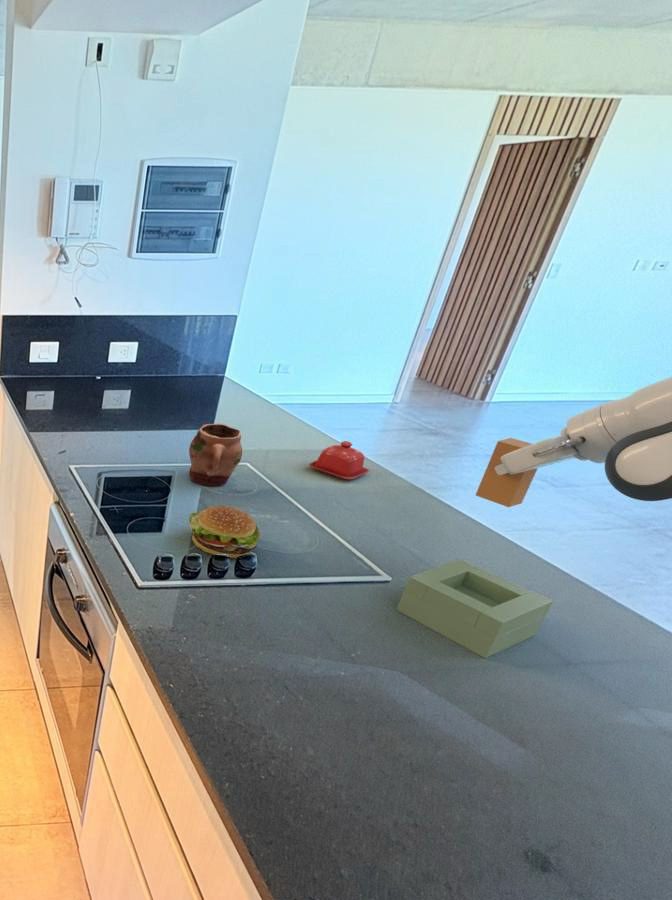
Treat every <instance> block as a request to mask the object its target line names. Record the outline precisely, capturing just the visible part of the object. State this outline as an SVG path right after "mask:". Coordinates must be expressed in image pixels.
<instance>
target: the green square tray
mask: <svg viewBox="0 0 672 900" xmlns="http://www.w3.org/2000/svg"><path fill="white" fill-rule="evenodd" d="M553 603H554V600H553V599H551V598H549V597H546V596H544V595H542V594H540V593H537V592H534V591H533V590H530V589H528V588H526V587H524V586H521V585H519V584H518V583H517V584H516V583H515V582H512V581H510V580H508V579H505V578H503V577H501V576H499V575H496V574H494V573H492V572H490V571H487V570H485V569H483V568H480V567H478V566H476V565H475V564H471V563H470V562H467V561H465V560H463V559H460V558H458V559H456V560H453V561H450V562H447V563H444V564H442V565H439V566H436V567H433V568H429V569H427V570H425V571H422V572H419V573H416V574H413V575H410V576H409V577H408V579H407V582H406V584H405V587H404V589H403V592H402V595H401V597H400V599H399V602H398V604H397V607H396V611H397V612H399V613H401V614H403V615H404V616H406V617H409V618H411V619H412V620H413V621H416V622H418V623H419V624H421V625H423V626H425V627H426V628H428V629H430V630H432V631H434V632H435V633H437V634H439V635H441V636H443V637H445V638H446V639H448V640H450V641H452V642H454V643H456V644H458V645H460V646H461V647H463V648H465V649H466V650H469V651H470V652H472V653H474V654H475V655H478V656H479V657H481V658H483V659H487V658H489V657H491V656H493V655H495V654H498V653H501V652H502V651H504V650H507V649H509V648H511V647H513V646H515V645H517V644H519V643H522V642H524V641H526V640H528V639H531V638H533V637H535V636H536V635H537V633H538V632H539V629H540V627H541V625H542V624H543V622H544V620H545V618H546V616H547V614H548V613H549V611H550V608H551V607H552V605H553Z"/></svg>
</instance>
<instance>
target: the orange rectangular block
mask: <svg viewBox="0 0 672 900" xmlns="http://www.w3.org/2000/svg"><path fill="white" fill-rule="evenodd" d="M531 444H532V443H531V442H528V441H523V440H520V439H517V438H512V437H509V438H505V439H504V438H503V439H501V440H497V442H496V444H495V447H494V449H493V452H492V455H491V457H490V458H489V461H488V463H487V466H486V469H485V470H484V474H483V476H482V478H481V481H480V483H479V485H478V487H477V490H476V493H475V496H476V497H479V498H482V499H484V500H487V501H489V502H491V503H492V502H493V503H496V504H499V505H501V506H504V507H506V508H511V507H514V506H518V505H521V504H523V502H524V499H525V498H526V495H527V493H528V491H529V489H530V486H531V484H532V482H533V480H534V477H535V475H536V473H537V471H538V470H539V468H536V469H533V470H529V471H525V472H521V473H518V474H513V475H511V474H509V473H507V474H504V475H498V474H497V473H496V471H495V467H496V466H498V465H501V464H502V462H501V459H500V458H501V457H502V456H503V455H505V454H507V453H510V452H513V451H515V450H518V449H521V448H523V447H526V446H529V445H531ZM533 455H534V453H533Z"/></svg>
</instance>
